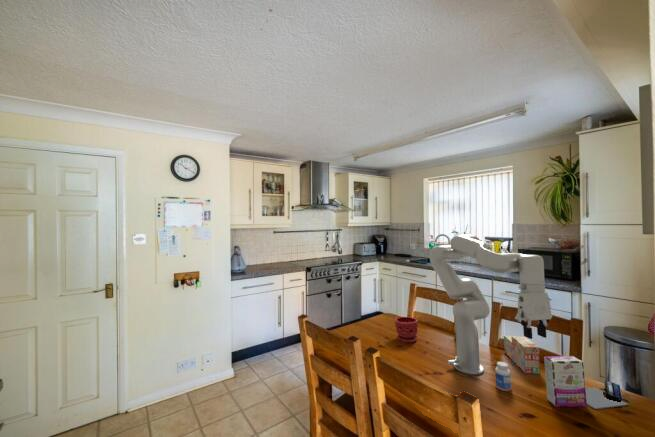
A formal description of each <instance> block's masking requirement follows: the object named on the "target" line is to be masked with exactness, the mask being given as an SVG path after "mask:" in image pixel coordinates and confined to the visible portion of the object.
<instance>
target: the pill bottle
mask: <svg viewBox="0 0 655 437" xmlns="http://www.w3.org/2000/svg"><path fill="white" fill-rule="evenodd" d="M494 370H495V371H494V372H495V374H494V375H495V386H496V388H497V389H498V390H501V391H504V392H509V391H511V390H512V378H511V376H512V375H511V371H510V369H509V364H508V363H507V362H504V361H497V362H496V367H495V368H494Z"/></svg>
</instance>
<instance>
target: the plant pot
mask: <svg viewBox="0 0 655 437" xmlns="http://www.w3.org/2000/svg"><path fill="white" fill-rule="evenodd" d="M394 321H395V322H394V324H395V325H394V326H395V330H396V333H397V339H398V340H399V341H400V342H403V343H414V342H415V341H417V340H418V336H417V334H418V331H419V330H418V327H419V324H418V323H419V322H418V319H417V318H415V317H410V316H400V317H399V316H398V317H397V318H395V319H394Z"/></svg>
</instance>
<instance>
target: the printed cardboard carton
mask: <svg viewBox="0 0 655 437" xmlns="http://www.w3.org/2000/svg"><path fill="white" fill-rule="evenodd" d="M503 342H504V343H503V344H504V345H503V346H504V354H506V356H507V357H508V356H509V357H510V358H511V359H512V360H513V363H516V364H515V365H516V366H517V367H518V368H519V367H520V368H521V369H520V368H519V369H520V370H521V371H523V373H524V374H528V373H532V374H531V375H533V374H534V375H541V368H540V367H541V366H540V347H539V346H538V345H537V344H535V343H534V342H533V341H531V339H529V338H527V337H525V336H517V335H507V334H506V335H503ZM509 357H508V358H509ZM510 358H509V359H510ZM511 359H510V360H511ZM512 360H511V361H512Z"/></svg>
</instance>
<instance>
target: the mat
mask: <svg viewBox="0 0 655 437" xmlns="http://www.w3.org/2000/svg"><path fill="white" fill-rule="evenodd" d="M585 391H586V403H587V406H589V407H590V408H592V409H594V410H595V409H596V410H603V409H609V408H610V407H611V408H618V407H626V406H629V404H628V403H627V402H625V401H623V400H621V402H617V401H613V400H609V399H607V398H606V397H604V395H603V392H604V391H603V390H601V389H599V388H597V387H589V388H588V387H587V388H585ZM611 408H610V409H611Z"/></svg>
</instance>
